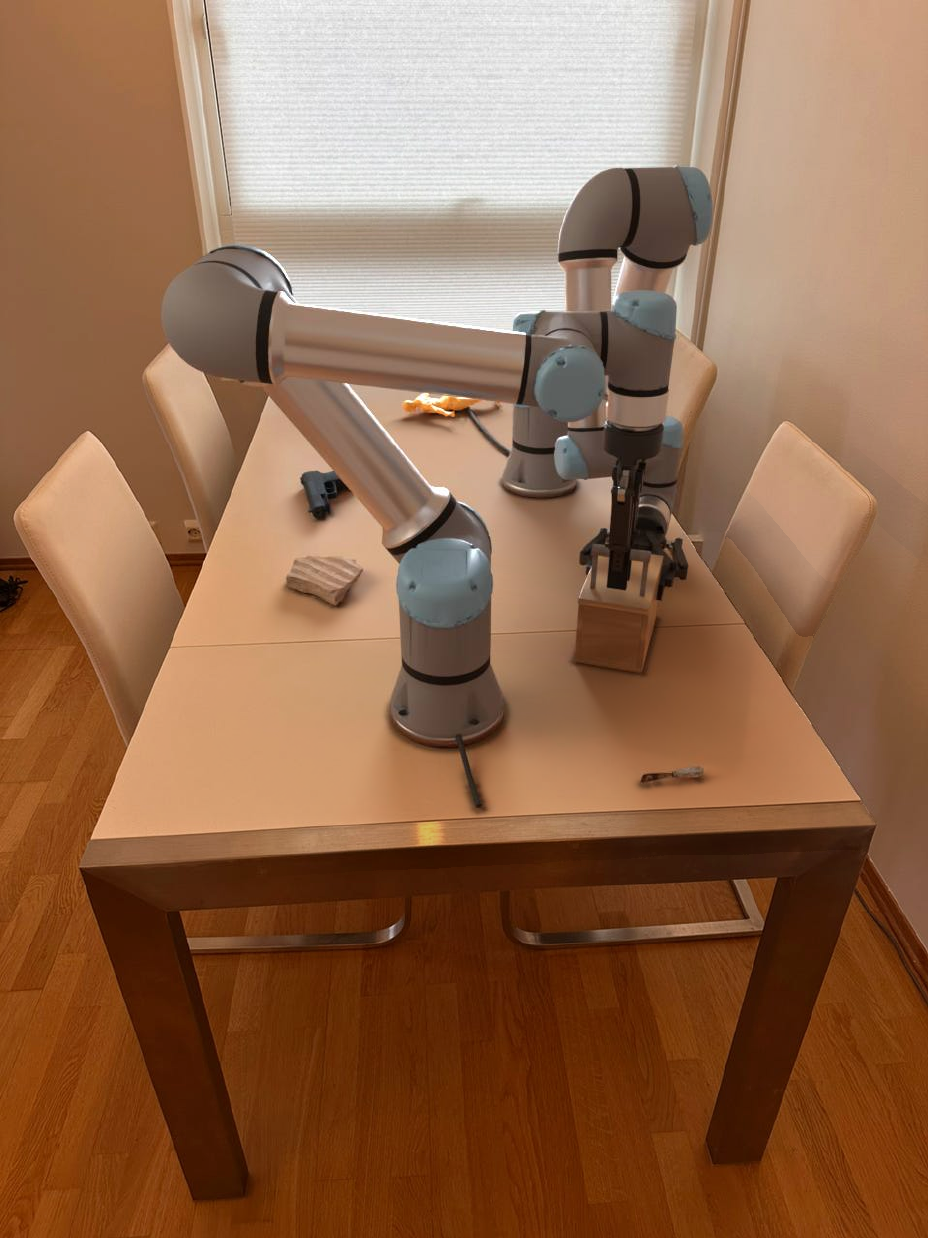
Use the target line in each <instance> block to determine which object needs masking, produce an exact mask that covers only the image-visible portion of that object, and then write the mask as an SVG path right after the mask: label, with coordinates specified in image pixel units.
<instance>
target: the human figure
mask: <svg viewBox="0 0 928 1238" xmlns="http://www.w3.org/2000/svg"><path fill="white" fill-rule="evenodd" d="M429 396H430V394H428V393H422V394H420V395H418V396H416V398H415V399H414V400H404V401H403V402H402V411H404V412H405V413H410V414H412V413H414V412H417V408H418V409H420V410H421V411H423V412H424V413H427V414H439V415H443V416H444V417H449V416H450V417H451V418H452V417H453V418H454V417H455V416H456V414H455V411H462V410H464V409H466V408H467V407H469V408H470V407H471V406H473V405H476V404H478V403H481V402H484V401H486V400H477V399H469V398H461V397H453V396H444V395H441V397H440V398H434V397H429ZM494 403H495V404H496V405H497V406H500V402H494ZM450 410H452V411H450Z"/></svg>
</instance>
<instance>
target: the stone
mask: <svg viewBox="0 0 928 1238" xmlns="http://www.w3.org/2000/svg"><path fill="white" fill-rule="evenodd" d="M363 571H364V568H363V566H361V565H360V564H358V562H357V559H356V558H355V559H350V558H346V557H343V556H339V555H338V556H335V555H334V556H333V555H332V556H325V557H323V556H316V555H307V556H305V557H301V556H298V557H295V558H294V559H293V562H292V566H291V567H290V571H289V573H288V574H286V576H285V585H284V586H285V587H286V588H289V589H292V590H296V591H299V592H301V593H305V594H306V593H308V594H311V595H315V596H317V597H319V598H321V599H322V600H323V601H325V602H327V603H329V604H330V605H332V606H338V604H339V603H340V602H342V601H343V600H344V598H345V595H346V593H347V590H349V589H350V588H351V586H352V585H354V584H355V583H357V582H358V580H359V578H360V576H361V575H362V573H363Z"/></svg>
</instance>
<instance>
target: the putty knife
mask: <svg viewBox="0 0 928 1238" xmlns="http://www.w3.org/2000/svg"><path fill="white" fill-rule="evenodd" d="M704 772H705V771H704V768H702V767H701V766H697V765H695V766H688V767H683V768H679V769H675V770H673V771H671V772H653V773H652V772H651V773H650V772H649V773H644V774H642V776H641V779H640V783H642V784H645V783H648V782H653V781H659V780H665V779H668V778H673V779H674V778H675V779H693V778H694V779H695V778H700V777H702V776H703V775H704Z"/></svg>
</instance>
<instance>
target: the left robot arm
mask: <svg viewBox="0 0 928 1238" xmlns="http://www.w3.org/2000/svg"><path fill="white" fill-rule="evenodd" d="M162 298H163V299H162V302H161V307H160V308H161V309H160V313H161V315H160V319H161V320H160V321H161V325H162V329H163V333H164V335H165V338H166V341H167V342H168V344H169V345H170V347H171V348H172V350H173V351H174V352H175V353H176V355H177V356H178V357H179V358H180V359H181V360H182V361H183V362H185V363H186V364H187V365H188V366H190V367H191V368H193V369H195V370H197V371H199V372H201V373H203V374H207V375H210V376H214V377H218V378H222V379H228V380H235V381H239V383H240V384H241V385H243V386H250V387H258V388H260V389H262V390H263V391H264V392H265V393H266V395H267V396H268V397H269V398H270V399H271V401H273V403H274V404H275V406H277V408H278V409H279V410H280V411H281V412H282V413H283V414H284V415H285V417H286V418H287V419H288V420H289V421H290V422H291V423H292V425H293V426H294V427H295V428H296V430H298V431H299V433H300V434H301V435H302V436H303V438H305V440H306V441H307V442H308V443H309V444H310V446H311V447H312V448H313V449H314V450H315V452H316V453H317V454H318V455H319V456H320V458H322V459H323V460H324V462H325V463H326V464H327V465H328V466H329V467H330V468H331V471H334V472H335V473H336V474H337V475H338V477H339V478H340V479H341V480H342V481H343V482H344V484H345V485H346V486H347V487H348V488H349V489H348V490H350V492H351V493H352V494H353V496H354V497H355V498H356V499H357V500H358V501H359V502H360V503H361V505H362V506H363V507H364V508H365V509H366V511H368V513H369V514H370V515H371V516H372V517H373V519H374V520H375V521H376V522H377V524H379V525H380V527H381V529H382V534H381V545H382V546H383V547H384V549H386V550H387V552H388V553H389V554H390V555H391V557H393V559H394V560H395V561H396V562H397V563H398V568H397V575H396V581H395V589H396V594H397V598H398V611H399V612H398V613H399V633H400V634H399V635H400V655H401V667H400V669H399V672H398V675H397V678H396V681H395V684H394V687H393V690H392V693H391V696H390V704H389V705H390V718H391V721H392V724H393V725H394V727H395V728H396V729H397V731H398V732H399V733H400V734H402V735H403V736H404V737H406V738H407V739H409V740H411V741H413V742H415V743H417V744H420V745H421V744H422V745H425V746H430V747H437V748H454V747H455V748H457V747H458V750H459V754H460V758H461V761H462V765H463V769H464V773H465V776H466V780H467V783H468V787H469V790H470V793H471V796H472V799H473V801H474V806H475V808H477V809H481V808H482V806H483V804H482V801H481V798H480V795H479V792H478V790H477V789H478V788H477V786H476V783H475V779H474V777H473V773H472V769H471V765H470V761H469V759H468V754H467V750H466V746H467V745H471V744H473V743H476V742H480V741H481V740H483V739H485V738H486V737H488V736H489V735H491V734H492V733H493V732H494V731H495V730H496V729H498V727H499V726H500V724H501V722H502V720H503V717H504V697H503V693H502V690H501V687H500V685H499V682H498V679H497V677H496V674H495V672H494V668H493V666H492V664H491V654H492V653H491V651H492V649H491V648H492V647H491V645H492V595H493V589H494V577H493V573H492V553H493V547H492V539H491V536H490V533H489V529H488V527H487V525H486V523H485V521H484V519H483V518H482V516H481V515H480V514H479V512H477V510H475V509H474V508H473V507H471V506H470V505H468V504H466V503H464V502H461V501H458V500H457V499H456V498H455V496H454V495H453V494H452V493H451V492H450V491H449V490H448V488H445V487H436V486H431V485H430V483H429V482H428V481H427V479H425V477H424V476H423V475H422V473H420V472H421V471H419V470H418V469H417V467H416V466H415V465H414V463H412V462H411V460H410V459H409V458H408V457H407V455H406V454H405V452H404V451H403V450H402V449H401V448H400V446H398V444H397V442H395V440H394V439H393V437H392V436H391V435H390V434H389V433H388V432H387V430H386V429H385V428H384V427H383V425H382V424H381V423H380V422H379V421H378V419H377V418H376V417H375V415H373V413H372V412H371V411H370V409H369V408H368V407H367V406H366V404H364V402H363V401H362V400H361V399H360V397H359V396H358V394H356V392H355V390H353V389H352V387H351V386H350V385H354V386H362V387H363V386H364V387H372V388H378V389H379V388H380V389H388V390H395V391H396V390H397V391H404V392H413V393H420V394H421V393H422V394H423V393H428V394H429V395H438V396H443V395H444V396H453V397H461V398H469V399H477V400H485V401H487V402H494V403H495V402H499V403H502V404H511V405H513V404H519V405H526V406H533V407H540V408H542V410H543V411H544V412H545V413H546V414H547V415H548V416H550V417H552V418H553V419H556V420H558V421H562V422H576V421H579V420H582V419H584V418H586V417H588V416H590V415H591V414H592V413H593V412H594V411H595V410H596V409H597V408H598V407H599V405H600V404H601V402H602V400H607V401H608V403H607V404H606V415H605V416H606V418H607V419H608V420H607V421H606V422H605V423H604V433H603V449H604V450H605V452H606V453H608V454H609V455H611V456H614V457H616V458H617V460H616V466H614V467H613V472H612V477H611V480H612V487H611V489H610V494H611V506H610V521H609V532H610V533H609V542H607V541H606V543H605V547H606V548H608V549H609V550H610V555H609V566H608V577H607V587H606V588H612V589H619V590H625V591H626V589H627V581H629V580H630V573H631V564H632V560H630V552H631V549H633V545H634V537H631V535H635V536H639V535H640V529H635V526H636V524H637V523H638V520H637V517H638V509H639V501H640V493H641V490H642V487H643V479H644V475H645V472H646V468H647V462H645V461H646V459H650V458H653V457H655V456H657V455H658V454H659V453H660V452H661V449H662V441H663V433H664V426H663V424H662V423H663V422H664V421H665V419H666V416H667V410H668V403H669V394H670V388H669V387H670V378H671V377H670V376H671V370H672V363H673V355H674V347H675V341H676V339H677V335H676V328H677V311H678V309H677V308H678V305H677V302H676V300H675V299H674V298H673V297H672V296H671V295H670V294H668V293H666V292H665V293H662V292H657V291H648V290H635V291H626V292H622V293H620V294H618V295H617V296H616V298H615V300H614V305H613V306H612V305H611V306H612V310H610V311H605V312H573V311H565V310H564V311H563V310H562V311H556V310H555V311H553V310H551V311H549V310H546V309H539V310H538V311H524V312H519V313H517V314H516V315H515V317H513V322H512V331H511V330H504V329H496V328H488V327H480V326H472V325H464V324H456V323H449V322H443V321H435V320H434V321H433V320H427V319H426V320H425V319H418V318H412V317H411V318H409V317H403V316H396V315H395V316H394V315H387V314H378V313H371V312H363V311H356V310H347V309H342V308H341V309H340V308H333V307H332V308H331V307H325V306H324V307H323V306H316V305H308V304H303V303H301V304H300V303H299V302H298V301H297V299H296V298H295V296H294V290H293V287H292V283H291V279H290V278H289V276H288V274H287V272H286V270H285V269H284V267H283V266H282V265H281V264H280V262H278V261H277V259H276V258H274V257H273V256H272V255H271V254H269V253H267V252H266V251H265V250H262V249H260V248H259V247H255V246H251V245H248V244H229V245H224V246H219V247H217V248H214V249H211V250H210V251H208V252H207V253H206V254H204V255H202V256H200V258H199V259H198V260H197V261H196V262H195V263H193V264H192V265H191V266H189V267H187V268H186V269H184V270H182V271H181V272H180V273H178V274H177V275H176V276H175V277H174V278H173V279H172V281H171V282H170V284H169V285H168V287H167V288H166V290H165V292H164V296H163V297H162ZM605 376H608V385H607V386H608V390H607V392H606V393H605V389H606V381H605Z"/></svg>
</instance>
